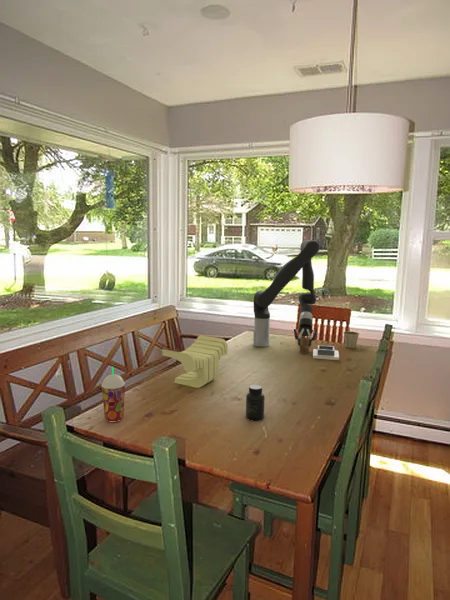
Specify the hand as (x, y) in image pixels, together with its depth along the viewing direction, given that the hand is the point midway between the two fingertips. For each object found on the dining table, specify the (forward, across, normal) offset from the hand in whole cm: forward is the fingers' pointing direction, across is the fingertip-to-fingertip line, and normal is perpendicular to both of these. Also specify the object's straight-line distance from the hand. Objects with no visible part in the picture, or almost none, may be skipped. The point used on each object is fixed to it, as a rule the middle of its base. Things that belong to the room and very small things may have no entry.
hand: (304, 345), depth 248 cm
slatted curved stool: (+46, -47, -40) cm, 77 cm away
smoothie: (+79, -65, -73) cm, 125 cm away
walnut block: (+2, 0, +4) cm, 5 cm away
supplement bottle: (+69, -15, -63) cm, 94 cm away
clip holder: (+5, +12, +1) cm, 13 cm away
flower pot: (-11, +27, +17) cm, 34 cm away
